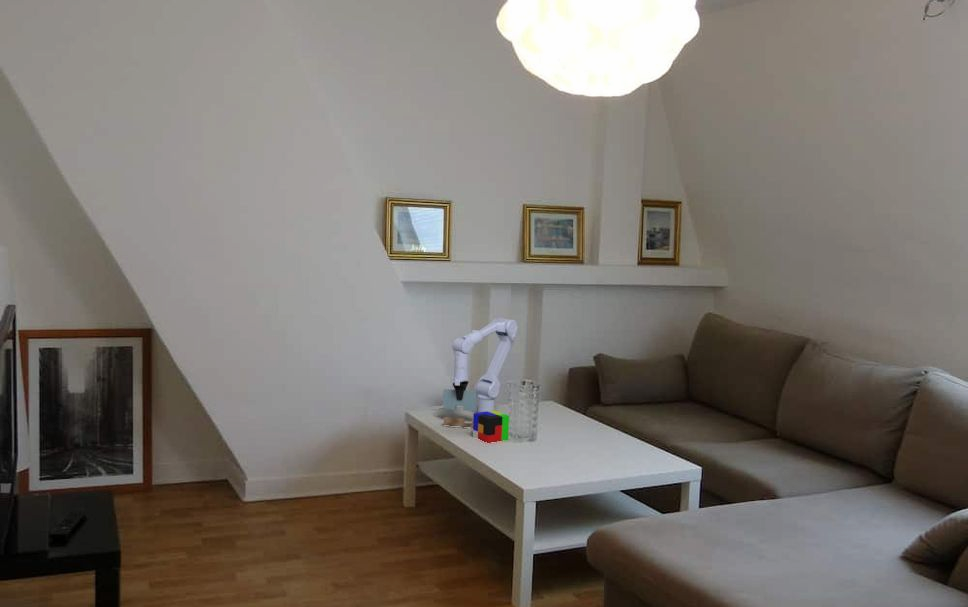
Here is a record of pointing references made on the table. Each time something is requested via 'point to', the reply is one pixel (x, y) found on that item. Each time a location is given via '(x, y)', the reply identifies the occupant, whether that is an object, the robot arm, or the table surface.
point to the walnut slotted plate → (457, 422)
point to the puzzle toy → (491, 426)
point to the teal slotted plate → (467, 402)
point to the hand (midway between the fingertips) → (460, 399)
